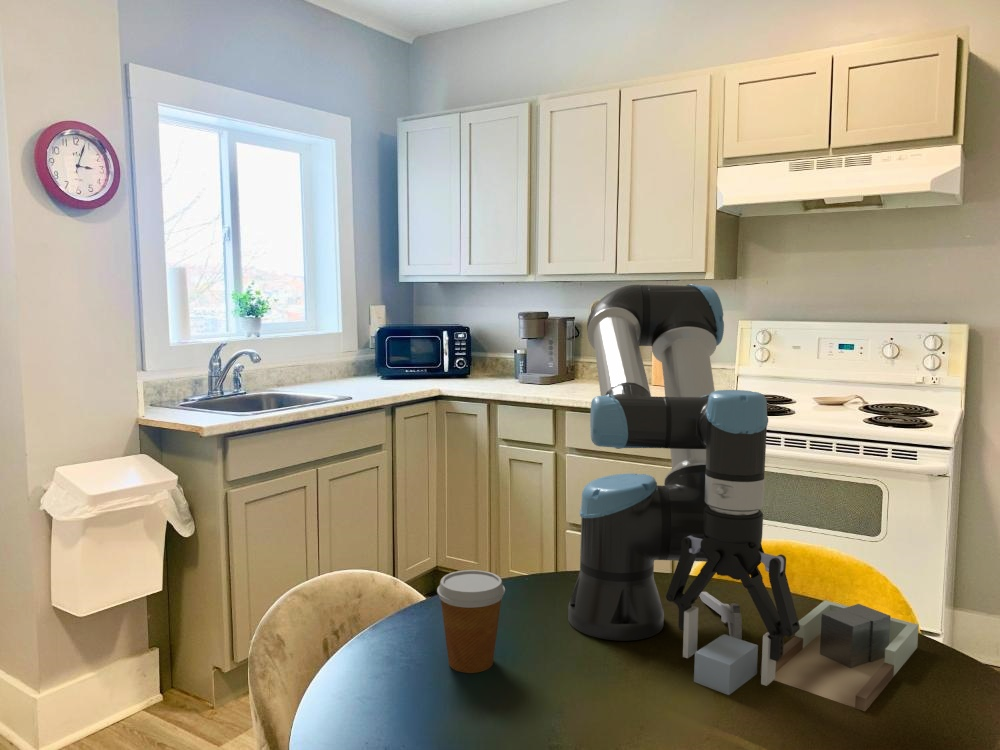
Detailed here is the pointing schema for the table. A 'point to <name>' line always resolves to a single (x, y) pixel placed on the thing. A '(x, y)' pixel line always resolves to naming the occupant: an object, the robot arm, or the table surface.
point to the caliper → (726, 613)
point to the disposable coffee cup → (470, 618)
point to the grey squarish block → (845, 638)
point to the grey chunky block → (874, 629)
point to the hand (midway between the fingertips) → (727, 667)
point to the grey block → (725, 664)
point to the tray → (900, 635)
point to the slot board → (831, 674)
